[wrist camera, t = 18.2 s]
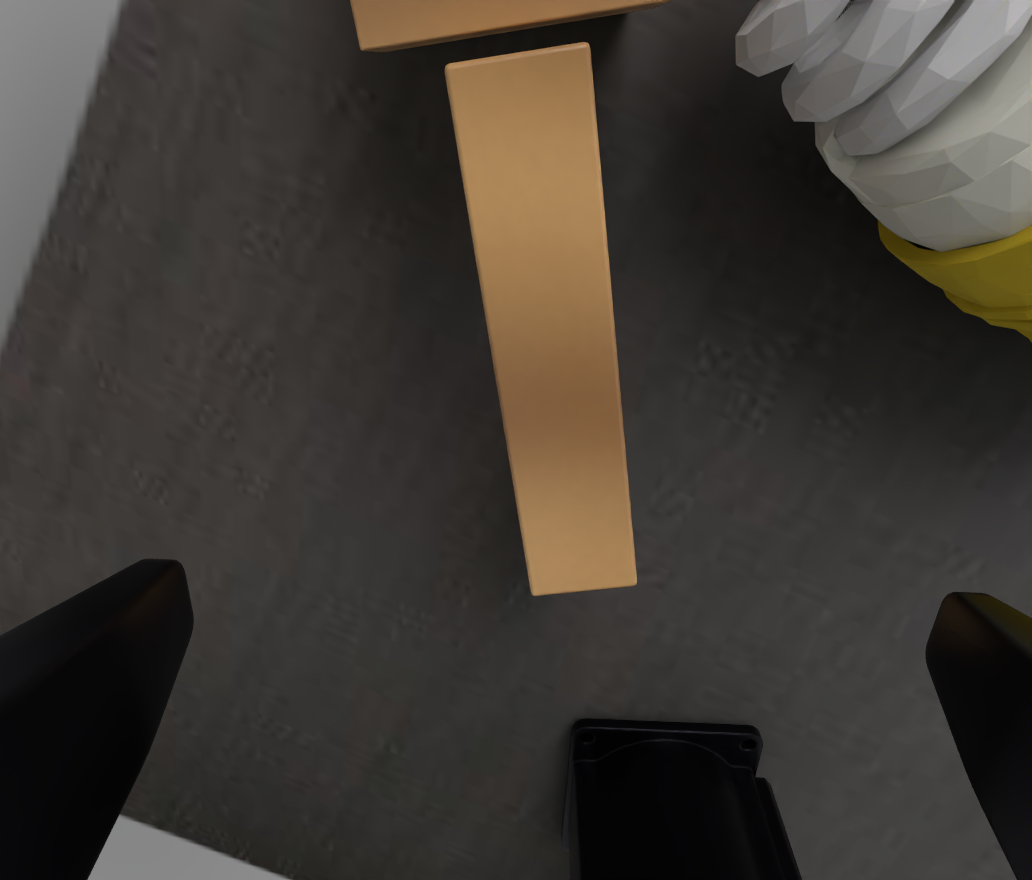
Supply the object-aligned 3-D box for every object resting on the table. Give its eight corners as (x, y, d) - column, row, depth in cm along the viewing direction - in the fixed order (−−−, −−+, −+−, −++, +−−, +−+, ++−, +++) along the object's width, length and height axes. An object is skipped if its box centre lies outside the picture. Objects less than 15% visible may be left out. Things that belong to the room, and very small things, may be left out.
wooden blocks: (362, -178, 15) (254, -328, 9) (620, -227, 15) (678, -415, 9) (479, 457, 22) (460, 605, 16) (661, 436, 21) (712, 579, 15)
